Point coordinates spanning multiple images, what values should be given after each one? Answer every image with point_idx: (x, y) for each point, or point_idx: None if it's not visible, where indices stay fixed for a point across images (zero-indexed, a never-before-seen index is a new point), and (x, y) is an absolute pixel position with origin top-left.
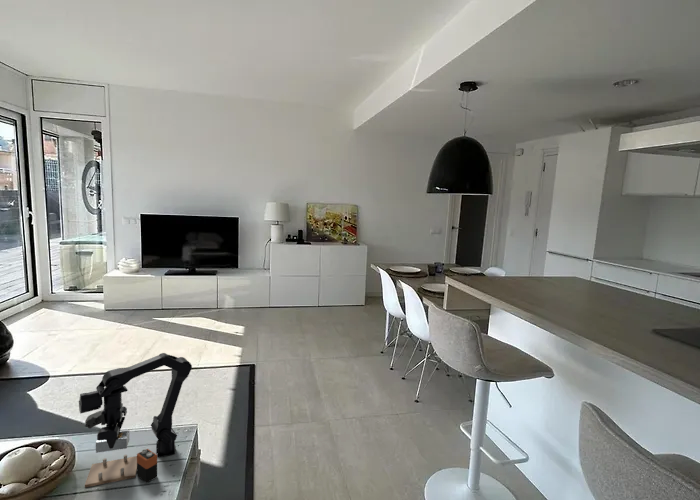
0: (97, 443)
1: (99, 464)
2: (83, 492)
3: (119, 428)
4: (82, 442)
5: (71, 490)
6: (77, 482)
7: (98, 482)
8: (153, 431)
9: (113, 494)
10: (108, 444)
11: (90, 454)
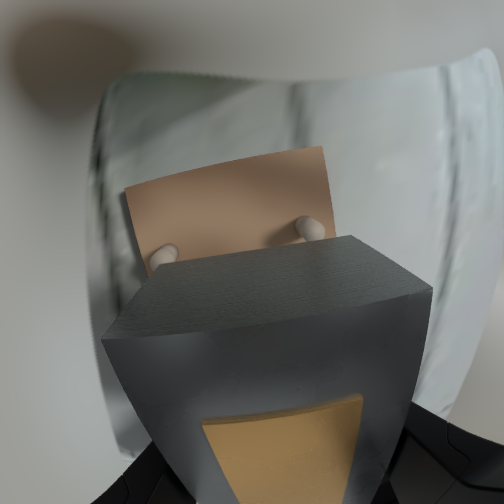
0: (121, 352)
1: (310, 192)
2: (98, 200)
3: (402, 502)
4: (484, 66)
5: (118, 130)
6: (177, 126)
7: (142, 253)
8: (377, 494)
9: (92, 336)
10: (148, 450)
11: (419, 108)
